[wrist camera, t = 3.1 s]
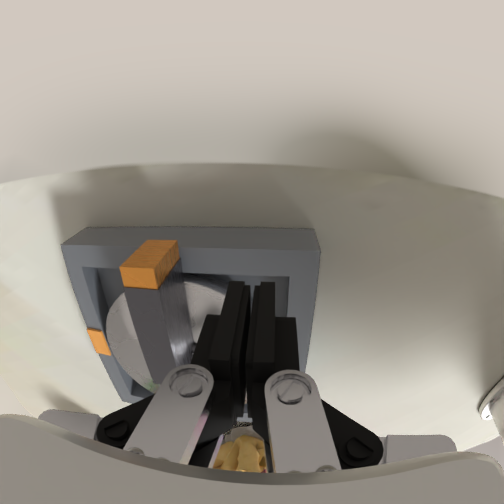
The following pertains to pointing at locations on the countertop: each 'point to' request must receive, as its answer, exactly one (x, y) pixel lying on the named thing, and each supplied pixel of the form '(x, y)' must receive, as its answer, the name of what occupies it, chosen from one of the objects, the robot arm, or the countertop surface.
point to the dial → (160, 312)
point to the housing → (194, 261)
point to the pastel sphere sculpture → (241, 451)
